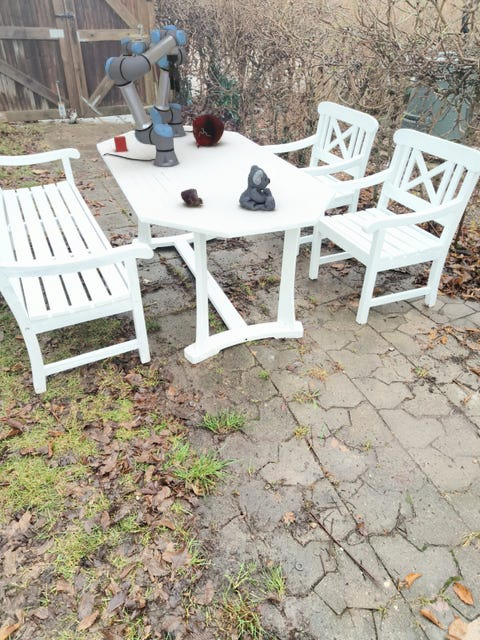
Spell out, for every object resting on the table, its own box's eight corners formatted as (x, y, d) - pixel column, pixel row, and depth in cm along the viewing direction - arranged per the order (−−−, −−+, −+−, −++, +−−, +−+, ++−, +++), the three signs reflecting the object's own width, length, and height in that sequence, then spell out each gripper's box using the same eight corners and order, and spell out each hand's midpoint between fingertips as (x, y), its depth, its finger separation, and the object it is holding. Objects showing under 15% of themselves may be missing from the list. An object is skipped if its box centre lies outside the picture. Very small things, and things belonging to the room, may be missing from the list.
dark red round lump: (190, 120, 341) (188, 116, 317) (221, 113, 340) (220, 109, 316) (197, 149, 348) (195, 148, 324) (227, 142, 347) (227, 141, 323)
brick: (127, 151, 322) (125, 137, 317) (116, 152, 320) (114, 138, 315) (126, 149, 326) (124, 136, 321) (115, 150, 324) (113, 136, 319)
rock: (196, 202, 238) (178, 205, 233) (194, 185, 234) (176, 188, 230) (205, 205, 228) (187, 208, 224) (203, 188, 224) (185, 191, 220)
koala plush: (276, 211, 223) (277, 171, 212) (240, 212, 222) (240, 172, 211) (271, 199, 237) (272, 161, 226) (237, 200, 236) (237, 162, 225)
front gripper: (183, 55, 279) (185, 93, 291) (173, 52, 298) (175, 88, 310) (171, 55, 277) (174, 94, 289) (161, 53, 296) (165, 88, 308)
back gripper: (135, 63, 337) (139, 94, 349) (131, 60, 356) (135, 90, 368) (125, 63, 335) (129, 95, 347) (121, 61, 354) (125, 91, 366)
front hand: (175, 91), depth 299 cm, fingers open, 13 cm apart
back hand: (132, 92), depth 357 cm, fingers open, 13 cm apart
